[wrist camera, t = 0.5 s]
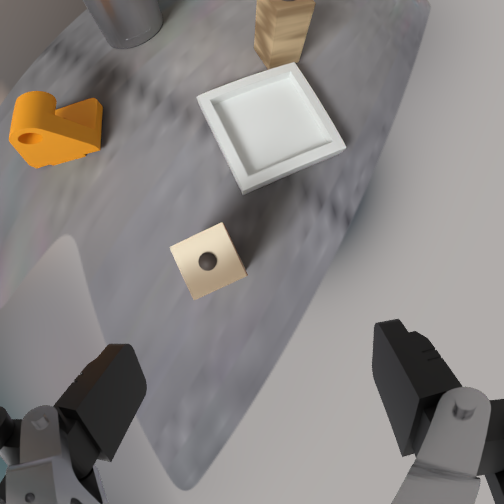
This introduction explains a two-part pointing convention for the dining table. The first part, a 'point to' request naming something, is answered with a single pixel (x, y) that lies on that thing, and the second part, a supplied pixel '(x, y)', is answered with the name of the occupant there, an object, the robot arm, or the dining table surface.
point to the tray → (270, 126)
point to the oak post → (281, 30)
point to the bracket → (54, 129)
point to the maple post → (208, 261)
